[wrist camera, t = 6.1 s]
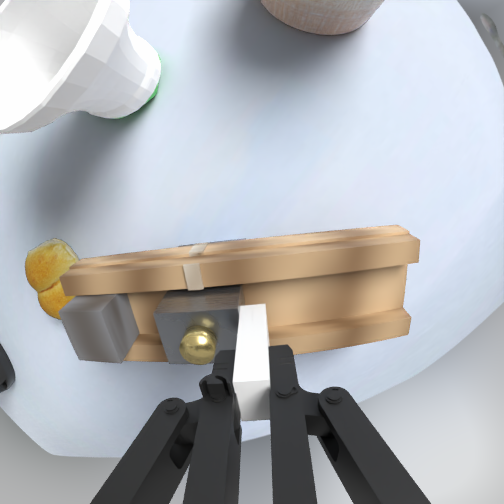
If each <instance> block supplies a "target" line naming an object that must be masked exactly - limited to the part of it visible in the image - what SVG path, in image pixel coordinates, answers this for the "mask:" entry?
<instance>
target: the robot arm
mask: <svg viewBox="0 0 504 504" xmlns="http://www.w3.org/2000/svg"><path fill="white" fill-rule="evenodd" d="M14 381H15V374H14V370H13V367H12V365H11V363H10V360H9V358H8V356H7V355H6V353H5V351H4V349H3V348H2V346H1V345H0V393H1V392H3V391H5V390H7V389H8V388H9V387H10V386H11V385H12V384H13V382H14ZM199 386H200V389H201V392H202V395H203V398H201V399H199V400H196V401H193V402H189V403H185V402H184V401H183V400H181V399H179V398H169V399H166V400H164V401H162V402H161V403H160V404H159V405H158V407H157V408H156V409H155V411H154V412H153V414H152V415H151V417H150V418H149V420H148V421H147V423H146V424H145V426H144V427H143V428H142V430H141V431H140V433H139V434H138V436H137V437H136V439H135V440H134V441H133V443H132V444H131V446H130V447H129V449H128V450H127V452H126V453H125V454H124V456H123V457H122V459H121V460H120V462H119V463H118V464H117V466H116V467H115V469H114V470H113V472H112V473H111V475H110V476H109V477H108V479H107V480H106V482H105V483H104V485H103V486H102V487H101V489H100V490H99V492H98V493H97V495H96V496H95V497H94V499H93V500H92V502H91V503H90V504H169V503H170V501H171V499H172V497H173V494H174V493H175V491H176V489H177V487H178V485H179V484H180V481H181V480H182V478H183V476H184V474H185V472H186V470H187V468H188V466H189V464H190V467H189V472H188V478H187V483H186V489H185V494H184V500H183V504H238V495H239V476H240V455H241V435H242V429H241V425H240V419H241V420H242V421H256V420H270V427H271V455H272V486H273V504H317V498H316V491H315V483H314V476H313V470H312V462H311V456H310V448H309V442H308V435H315V436H317V438H318V440H319V442H320V443H321V445H322V447H323V449H324V451H325V453H326V455H327V457H328V458H329V460H330V462H331V464H332V466H333V467H334V469H335V471H336V473H337V475H338V477H339V478H340V480H341V482H342V484H343V486H344V487H345V489H346V491H347V493H348V494H349V496H350V498H351V500H352V502H353V503H354V504H431V503H430V501H429V500H428V499H427V498H426V496H425V495H424V493H423V492H422V491H421V489H420V488H419V487H418V485H417V484H416V483H415V481H414V480H413V479H412V477H411V476H410V475H409V473H408V472H407V471H406V469H405V468H404V467H403V465H402V464H401V463H400V461H399V460H398V459H397V457H396V456H395V455H394V453H393V452H392V451H391V449H390V448H389V446H388V445H387V444H386V442H385V441H384V440H383V438H382V437H381V436H380V434H379V433H378V432H377V430H376V429H375V428H374V426H373V425H372V424H371V422H370V421H369V420H368V418H367V417H366V415H365V414H364V413H363V411H362V410H361V409H360V407H359V406H358V405H357V403H356V402H355V400H354V399H353V398H352V396H351V395H350V394H349V392H348V391H346V390H345V389H343V388H341V387H329V388H326V389H324V390H323V391H322V392H321V393H320V394H319V393H311V392H307V391H305V390H303V389H302V388H301V387H300V386H299V384H298V379H297V373H296V367H295V362H294V356H293V350H292V349H291V348H290V347H289V345H288V344H285V345H276V346H270V344H269V333H268V324H267V314H266V305H265V304H256V305H245V306H240V315H239V325H238V334H237V344H236V350H220V351H219V352H218V354H217V355H216V356H215V360H214V365H213V370H212V374H210V375H208V376H205V377H204V378H203V379H202V380H201V381H200V383H199Z"/></svg>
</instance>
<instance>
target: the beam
mask: <svg viewBox="0 0 504 504" xmlns="http://www.w3.org/2000/svg"><path fill="white" fill-rule="evenodd" d="M419 249H420V240H419V239H417V238H416V237H414V236H412V235H410V234H409V231H408V230H406V229H404V228H403V227H401V226H399V225H389V226H378V227H367V228H356V229H345V230H335V231H325V232H315V233H304V234H295V235H285V236H275V237H266V238H256V239H247V240H246V239H237V240H228V241H219V242H210V243H208V242H207V243H198V244H192V245H183V246H179V247H175V248H167V249H158V250H150V251H141V252H133V253H125V254H117V255H109V256H101V257H93V258H85V259H81V260H79V261H78V262H76V263H75V264H73V265H72V266H70V267H69V269H70V270H68V271H67V272H66V273H64V274H63V275H61V276H60V277H59V279H60V282H61V285H62V288H63V291H64V294H65V296H75V297H74V298H73V299H72V300H71V301H69V302H68V303H67V304H66V305H65V306H64V307H63V308H62V309H61V310H59V311H58V313H59V315H60V318H61V320H62V323H63V325H64V327H65V330H66V332H67V334H68V337H69V339H70V341H71V343H72V346H73V348H74V350H75V352H76V354H77V356H78V358H79V360H85V361H96V362H109V363H122V362H123V361H148V362H168V359H167V356H166V353H165V350H164V347H163V344H162V341H161V338H160V335H159V332H158V328H157V325H156V322H155V319H154V315H153V313H154V311H155V310H156V308H157V307H158V305H159V303H160V302H161V300H162V299H163V297H164V295H165V294H166V292H167V291H168V290H177V289H188V291H190V290H202V289H204V287H213V286H224V285H235V284H242V287H243V294H244V301H245V305H256V304H265V305H266V314H267V324H268V333H269V344H270V346H276V345H285V344H288V345H289V347H290V348H291V349H292V350H293V355H295V354H303V353H311V352H318V351H325V350H332V349H338V348H344V347H350V346H356V345H361V344H367V343H372V342H377V341H382V340H387V339H391V338H396V337H400V336H405V335H408V333H409V328H410V322H411V316H410V315H409V314H408V313H407V312H406V311H405V309H404V308H403V302H404V294H405V285H406V275H407V264H411V263H418V262H419Z"/></svg>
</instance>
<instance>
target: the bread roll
mask: <svg viewBox="0 0 504 504" xmlns="http://www.w3.org/2000/svg"><path fill="white" fill-rule="evenodd" d="M78 261H79V259H78V257H77V255H76V253H75V252H74V251H73V250H72V248H71V247H70V246H69V245H68V244H67V243H65V242H64V241H62V240H59V239H56V238H53V239H50V240H48V241H46V242H44V243H42V244H40V245H39V246H38V247H35V248H34V249H32V250H30V251H29V252H28V255H27V258H26V261H25V271H26V277H27V280H28V282H29V284H30V285H31V286H32V287H33V288H34V289H35V290H36V291H37V292H38V300H39V303H40V306H41V307H42V309H43V310H44V311H45V312H46V313H47V314H48V315H50V316H52V317H54V318H57V319H60V320H61V318H60V315H59V313H58V311H59V310H61V309H62V308H63V307H64V306H65V305H66V304H67V303H68V302H69V301H71V300H72V299H73V298H74V297H75V296H65V294H64V291H63V288H62V285H61V282H60V279H59V277H60V276H61V275H63V274H64V273H66V272H67V271H68V270H70V269H69V267H70V266H72V265H73V264H75V263H76V262H78Z"/></svg>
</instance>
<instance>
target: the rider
mask: <svg viewBox="0 0 504 504" xmlns="http://www.w3.org/2000/svg"><path fill="white" fill-rule="evenodd" d="M240 306H245V301H244V294H243V287H242V284H235V285H224V286H213V287H204V289H202V290H190V291H188V289H177V290H168V291H167V292H166V294H165V295H164V297H163V299H162V300H161V302H160V303H159V305H158V307H157V308H156V310H155V311H154V313H153V315H154V319H155V322H156V325H157V328H158V332H159V335H160V338H161V341H162V344H163V347H164V350H165V353H166V356H167V359H168V362H169V364H196V365H204V364H207V363H214V360H215V356H216V355H217V354H218V352H219V351H220V350H236V344H237V334H238V325H239V315H240Z"/></svg>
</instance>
